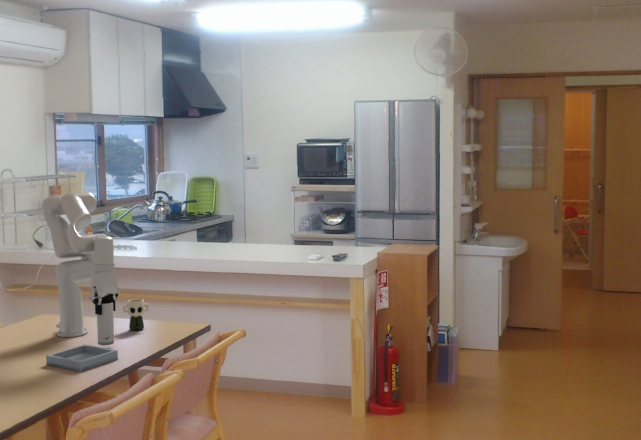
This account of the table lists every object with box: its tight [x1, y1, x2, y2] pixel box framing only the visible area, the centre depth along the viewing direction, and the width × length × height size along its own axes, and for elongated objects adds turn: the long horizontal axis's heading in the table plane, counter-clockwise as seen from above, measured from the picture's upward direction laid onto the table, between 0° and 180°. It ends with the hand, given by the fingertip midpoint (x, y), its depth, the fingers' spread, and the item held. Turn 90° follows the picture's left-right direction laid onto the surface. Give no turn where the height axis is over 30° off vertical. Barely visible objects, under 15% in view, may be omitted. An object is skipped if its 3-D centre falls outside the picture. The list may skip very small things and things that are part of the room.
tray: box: [45, 343, 119, 373], centre depth 287 cm, size 18×18×4 cm
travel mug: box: [96, 294, 115, 346], centre depth 305 cm, size 6×7×20 cm
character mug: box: [122, 298, 150, 331], centre depth 336 cm, size 11×7×13 cm, turn 106°
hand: (105, 312), depth 305 cm, fingers closed on travel mug, 6 cm apart
